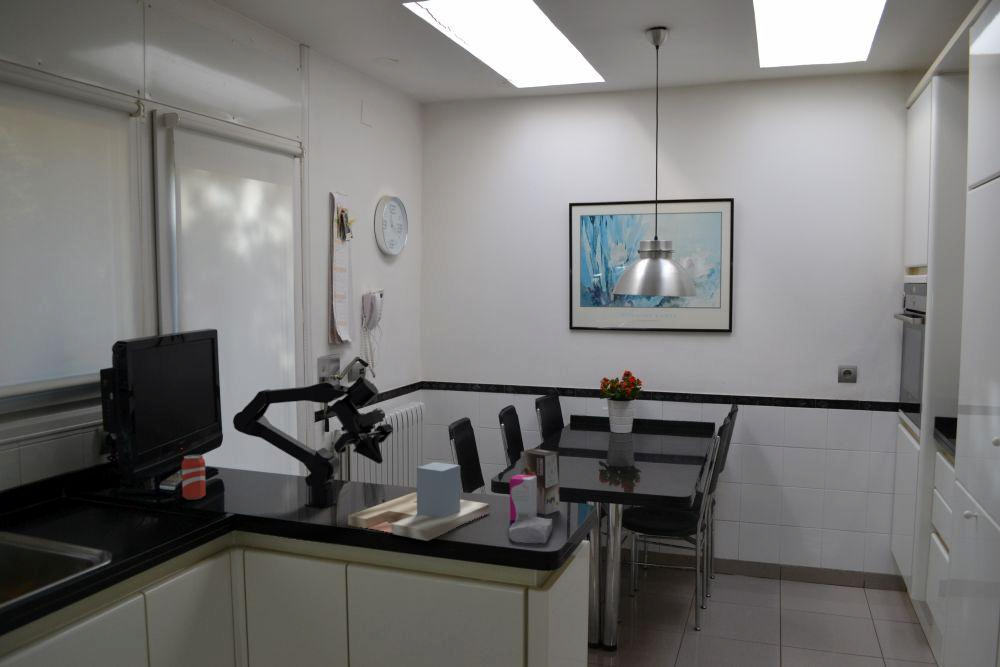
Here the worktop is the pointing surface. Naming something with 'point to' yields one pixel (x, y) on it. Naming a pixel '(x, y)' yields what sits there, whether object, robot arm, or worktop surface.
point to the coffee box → (543, 477)
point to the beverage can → (193, 477)
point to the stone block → (531, 530)
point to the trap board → (414, 518)
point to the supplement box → (523, 497)
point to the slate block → (438, 489)
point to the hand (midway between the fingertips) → (381, 462)
